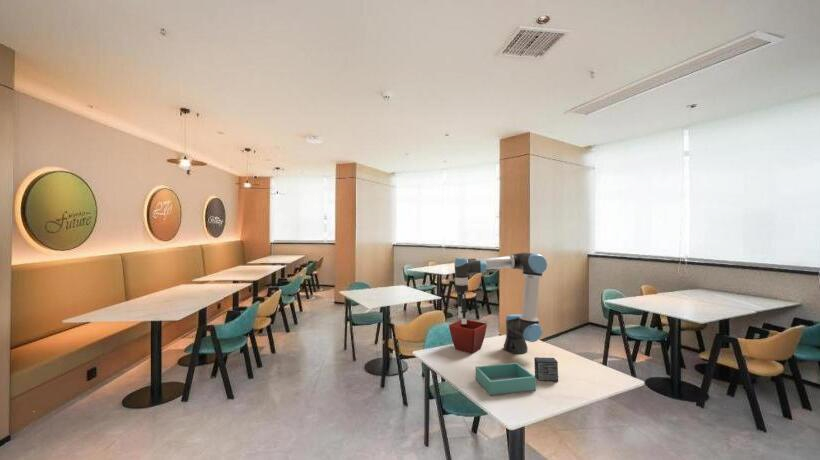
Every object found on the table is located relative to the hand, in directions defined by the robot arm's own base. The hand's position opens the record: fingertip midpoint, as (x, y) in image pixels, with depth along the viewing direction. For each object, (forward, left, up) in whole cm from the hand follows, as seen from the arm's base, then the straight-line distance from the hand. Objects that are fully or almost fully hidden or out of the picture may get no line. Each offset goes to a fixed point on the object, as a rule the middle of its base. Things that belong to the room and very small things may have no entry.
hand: (462, 320), depth 194 cm
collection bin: (-12, +28, -27) cm, 40 cm away
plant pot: (-13, -25, -27) cm, 39 cm away
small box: (-37, +26, -27) cm, 53 cm away
